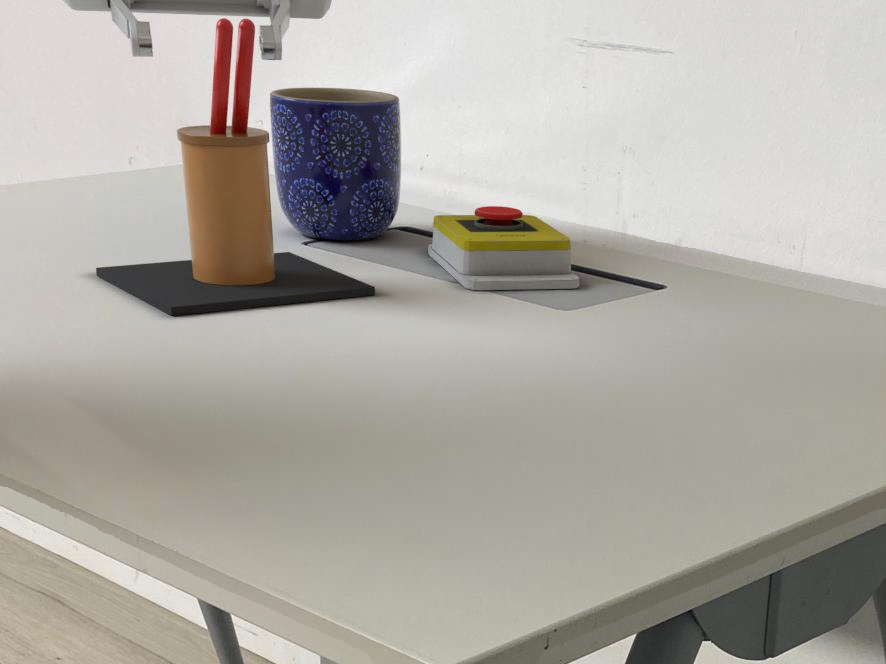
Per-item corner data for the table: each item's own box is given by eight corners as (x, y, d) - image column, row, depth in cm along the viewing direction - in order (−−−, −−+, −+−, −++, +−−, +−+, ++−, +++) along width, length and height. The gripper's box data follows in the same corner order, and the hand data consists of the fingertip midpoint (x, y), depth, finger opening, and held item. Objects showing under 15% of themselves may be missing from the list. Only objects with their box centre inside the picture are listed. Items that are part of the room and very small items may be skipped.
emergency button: (531, 196, 122) (585, 229, 110) (529, 250, 125) (582, 288, 113) (424, 196, 120) (468, 230, 108) (425, 251, 122) (468, 290, 110)
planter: (255, 227, 127) (245, 88, 121) (361, 219, 133) (356, 86, 127) (318, 250, 120) (310, 103, 114) (426, 240, 126) (425, 100, 120)
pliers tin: (216, 291, 103) (193, 18, 94) (176, 272, 108) (150, 10, 98) (297, 284, 106) (282, 19, 97) (255, 265, 111) (237, 11, 102)
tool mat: (171, 316, 98) (170, 307, 98) (96, 275, 108) (95, 267, 107) (375, 294, 107) (375, 286, 107) (289, 259, 116) (289, 251, 116)
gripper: (35, -147, 104) (56, 16, 101) (319, -129, 109) (346, 25, 107) (45, -76, 109) (65, 79, 107) (314, -63, 115) (339, 85, 113)
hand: (208, 52), depth 107 cm, fingers open, 8 cm apart
